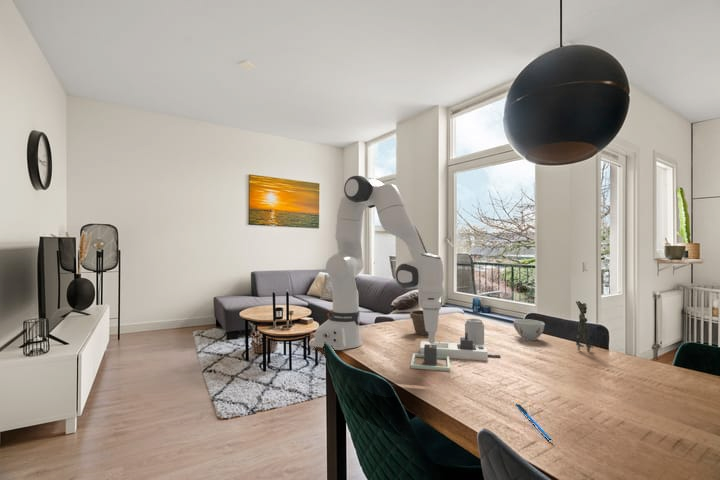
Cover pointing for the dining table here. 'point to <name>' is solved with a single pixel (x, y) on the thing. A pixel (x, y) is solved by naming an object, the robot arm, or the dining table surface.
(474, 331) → the can
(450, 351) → the white power strip
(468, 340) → the twin plug
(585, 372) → the dining table surface
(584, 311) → the statue
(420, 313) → the flower pot
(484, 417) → the dining table surface
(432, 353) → the dark grey block
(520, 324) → the teacup
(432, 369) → the tray
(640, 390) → the dining table surface
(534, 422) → the pen
